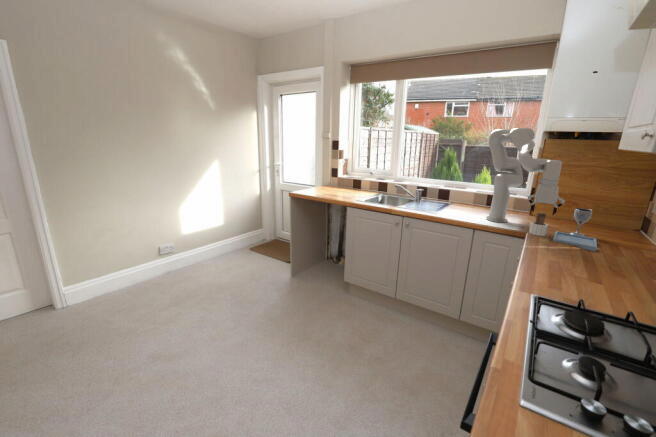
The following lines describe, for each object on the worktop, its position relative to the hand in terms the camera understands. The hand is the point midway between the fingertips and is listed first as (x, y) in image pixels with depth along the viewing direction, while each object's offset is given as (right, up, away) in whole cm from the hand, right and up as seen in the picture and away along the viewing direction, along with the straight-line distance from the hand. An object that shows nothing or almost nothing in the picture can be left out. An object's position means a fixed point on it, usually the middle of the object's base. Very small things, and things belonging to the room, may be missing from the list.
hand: (542, 213), depth 171 cm
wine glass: (+26, -13, +9) cm, 30 cm away
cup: (-1, -13, +4) cm, 13 cm away
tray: (+13, -16, -6) cm, 21 cm away
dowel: (-1, -12, +4) cm, 12 cm away
